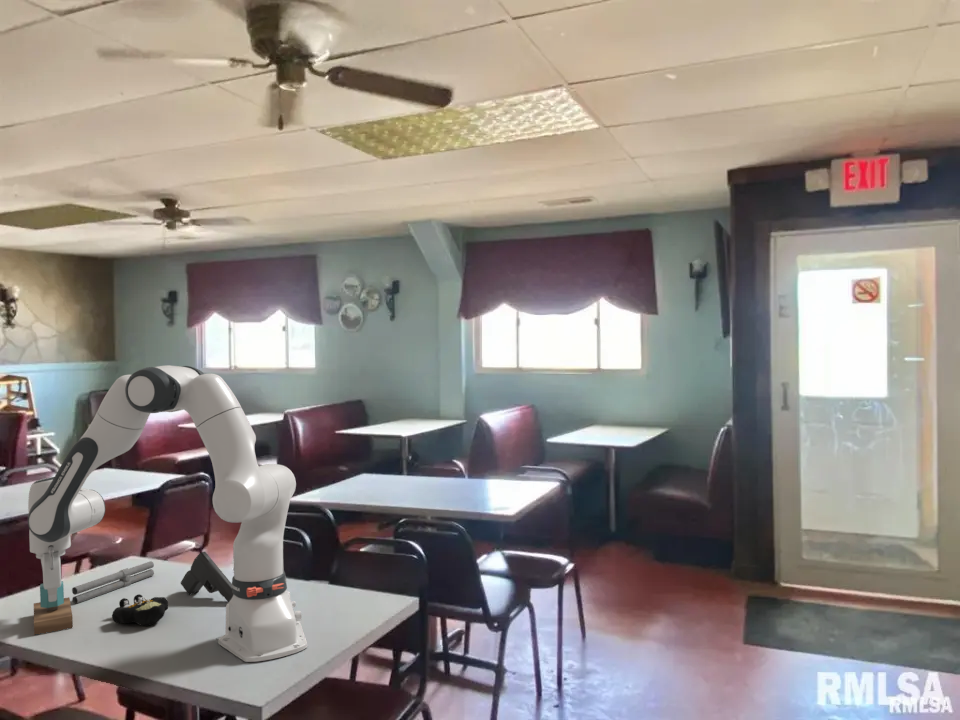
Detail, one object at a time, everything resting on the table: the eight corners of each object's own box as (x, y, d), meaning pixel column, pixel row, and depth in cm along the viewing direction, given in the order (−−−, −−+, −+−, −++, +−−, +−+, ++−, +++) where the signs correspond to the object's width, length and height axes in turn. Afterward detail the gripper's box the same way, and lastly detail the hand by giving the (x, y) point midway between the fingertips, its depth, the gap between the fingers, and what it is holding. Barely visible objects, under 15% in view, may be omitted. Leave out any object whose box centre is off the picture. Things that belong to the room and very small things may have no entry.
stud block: (72, 627, 178) (71, 595, 178) (34, 635, 174) (33, 601, 174) (69, 608, 192) (68, 578, 192) (33, 615, 188) (32, 584, 188)
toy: (153, 590, 192) (177, 585, 183) (157, 619, 191) (183, 616, 181) (102, 603, 183) (126, 599, 173) (107, 634, 182) (131, 631, 172)
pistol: (225, 626, 198) (243, 592, 194) (214, 630, 195) (232, 596, 191) (189, 580, 206) (205, 546, 202) (178, 583, 203) (194, 549, 199)
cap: (64, 604, 182) (63, 584, 182) (40, 609, 179) (40, 588, 179) (63, 599, 186) (62, 579, 186) (40, 603, 184) (39, 583, 184)
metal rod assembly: (78, 605, 195) (78, 587, 195) (71, 604, 196) (70, 585, 196) (156, 576, 219) (155, 560, 218) (149, 575, 220) (149, 559, 220)
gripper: (66, 549, 175) (68, 606, 176) (63, 531, 193) (65, 584, 193) (35, 553, 172) (37, 612, 172) (35, 535, 190) (37, 588, 190)
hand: (52, 597), depth 183 cm, fingers closed on cap, 5 cm apart
